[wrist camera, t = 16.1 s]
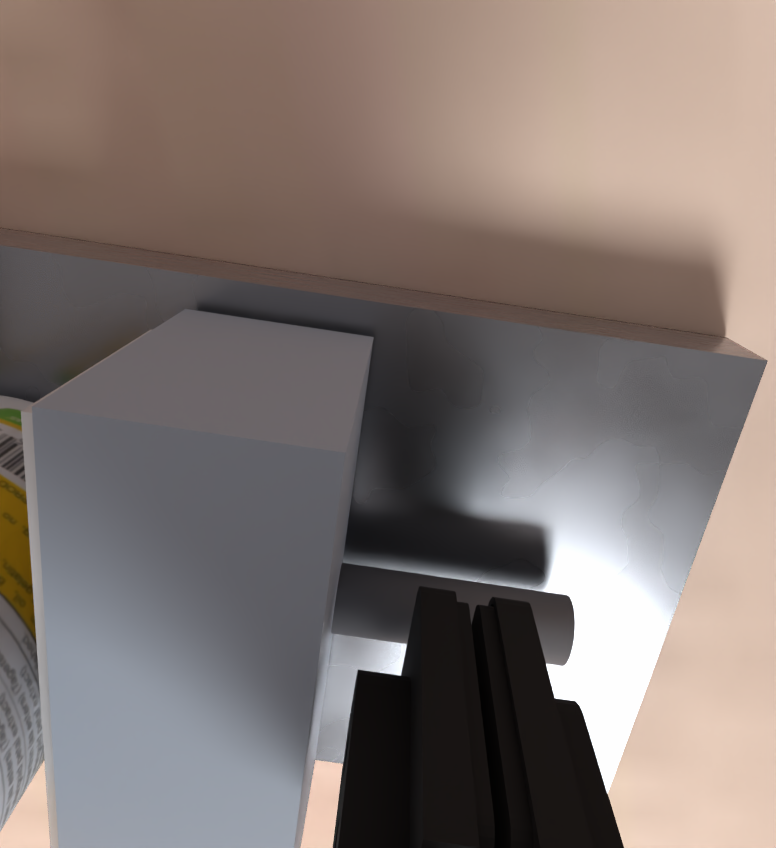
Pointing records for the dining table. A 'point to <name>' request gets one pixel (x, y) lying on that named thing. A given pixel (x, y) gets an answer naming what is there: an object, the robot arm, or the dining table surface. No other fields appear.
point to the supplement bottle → (16, 622)
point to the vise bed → (455, 442)
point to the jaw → (205, 580)
